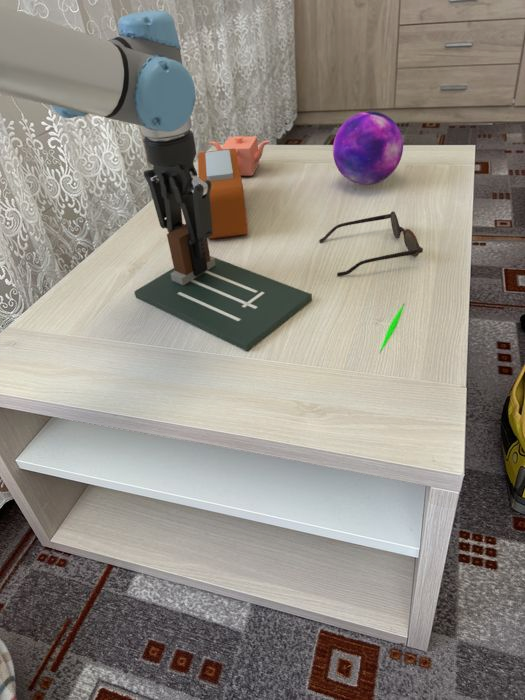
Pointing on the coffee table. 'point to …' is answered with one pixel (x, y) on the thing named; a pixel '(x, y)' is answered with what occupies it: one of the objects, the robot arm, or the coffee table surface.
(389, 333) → the leaf
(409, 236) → the eyeglasses
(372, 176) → the decorative orb
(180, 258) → the eraser
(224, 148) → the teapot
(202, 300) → the chalkboard
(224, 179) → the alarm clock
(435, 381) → the coffee table surface
